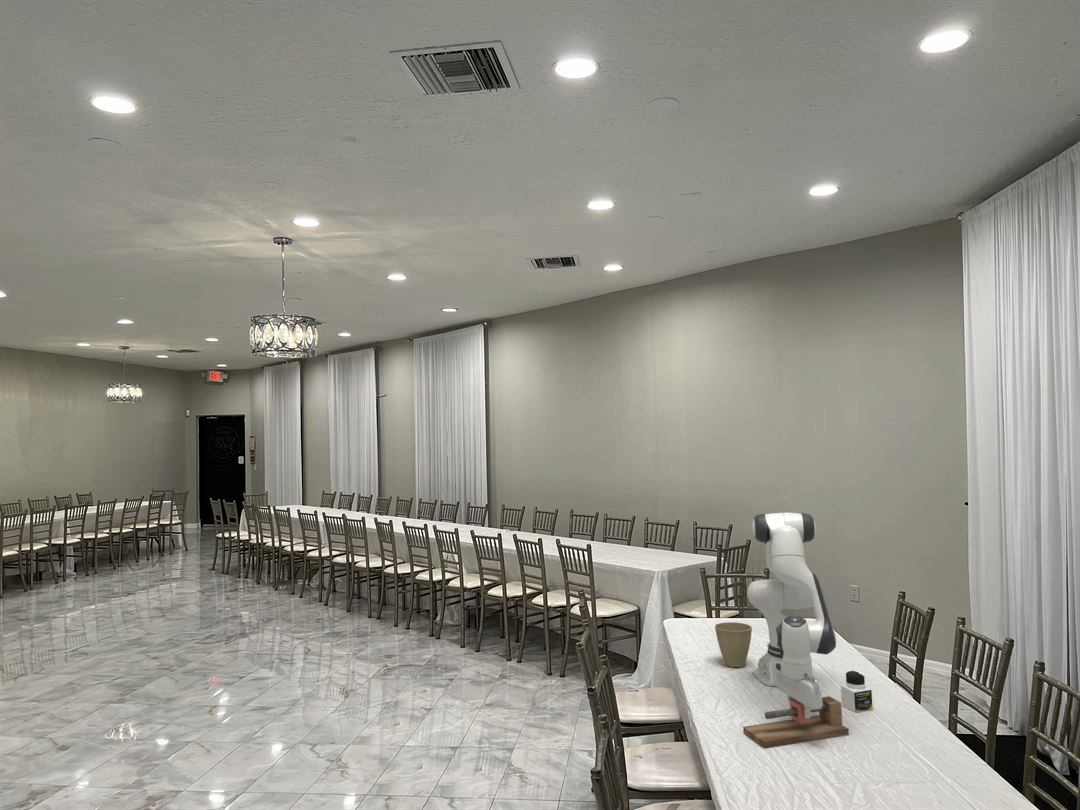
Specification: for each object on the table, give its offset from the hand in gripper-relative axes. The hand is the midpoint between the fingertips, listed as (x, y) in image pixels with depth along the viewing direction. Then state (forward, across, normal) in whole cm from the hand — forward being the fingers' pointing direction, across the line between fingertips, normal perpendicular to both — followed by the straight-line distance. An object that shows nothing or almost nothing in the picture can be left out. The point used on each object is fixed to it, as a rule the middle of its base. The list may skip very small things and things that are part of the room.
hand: (800, 713), depth 228 cm
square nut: (+2, 0, 0) cm, 2 cm away
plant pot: (+6, +67, -14) cm, 69 cm away
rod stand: (+6, 0, +2) cm, 6 cm away
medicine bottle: (+6, +12, -30) cm, 33 cm away
